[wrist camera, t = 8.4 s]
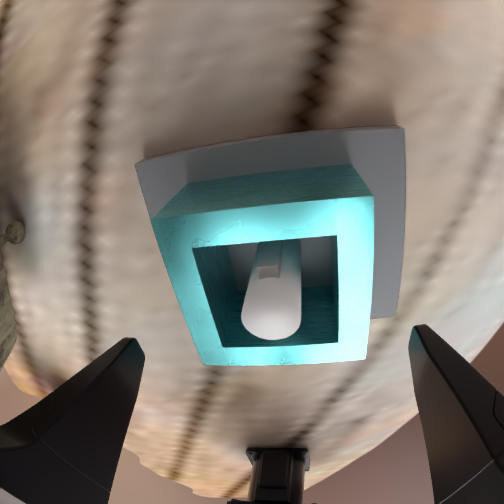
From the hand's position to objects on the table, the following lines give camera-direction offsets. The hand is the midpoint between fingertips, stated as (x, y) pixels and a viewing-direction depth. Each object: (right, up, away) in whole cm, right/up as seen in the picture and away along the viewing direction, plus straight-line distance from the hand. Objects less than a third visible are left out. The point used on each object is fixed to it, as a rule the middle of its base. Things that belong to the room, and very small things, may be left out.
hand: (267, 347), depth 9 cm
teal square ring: (+1, +3, +5) cm, 6 cm away
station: (+1, +4, +6) cm, 7 cm away
